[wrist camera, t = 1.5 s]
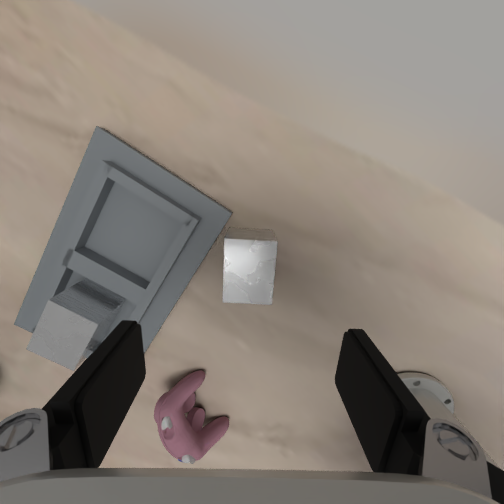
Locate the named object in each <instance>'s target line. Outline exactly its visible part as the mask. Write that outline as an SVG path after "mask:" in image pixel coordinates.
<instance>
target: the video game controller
mask: <svg viewBox="0 0 504 504" xmlns="http://www.w3.org/2000/svg"><path fill="white" fill-rule="evenodd" d="M204 379H205V372H204V371H202V370H199V371H195V372H193V373H191V374H189V375H187V376H186V377H184V378H183V379H182V380H180V381H179V382H178V383H177V384H176V385H175V386H174V387H173V388H172V389H171V390H170V391H169V392H166V393H164V394H163V395H162V396H161V397H160V398H159V400H158V401H157V403H156V406H155V410H154V419H155V421H156V423H157V425H158V432H159V435H160V438H161V441H162V443H163V445H164V447H165V448H166V450H167V451H168V452H169V453H170V454H171V455H172V456H173V457H175V458H177V459H178V460H179V461H181V462H184V463H189V462H190V463H191V464H193V463H194V462H195V461H196V460H200V459H201V458H202V457H203V456H204V455H205V454H206V453H207V451H208V450H209V449H210V448H211V447H212V446H213V445H214V444H215V443H216V442H217V441H218V440H220V438H221V437H222V436H223V435H224V434H225V433H226V431H227V429H228V427H229V419H228V418H227V417H226V416H225V417H224V416H223V417H219V418H217V419H215V420H213V421H211V422H210V423H209V424H207V425H206V426H204V427H203V428H202V426H203V422H204V419H205V412H204V410H203V409H201V408H197V407H193V406H194V404H195V393H194V391H196V390H197V389H198V388H199V387H200V385H201V384H202V382H203V381H204ZM192 407H193V408H192ZM187 412H189V413H188V416H187V418H186V417H185V414H184V413H187Z"/></svg>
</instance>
